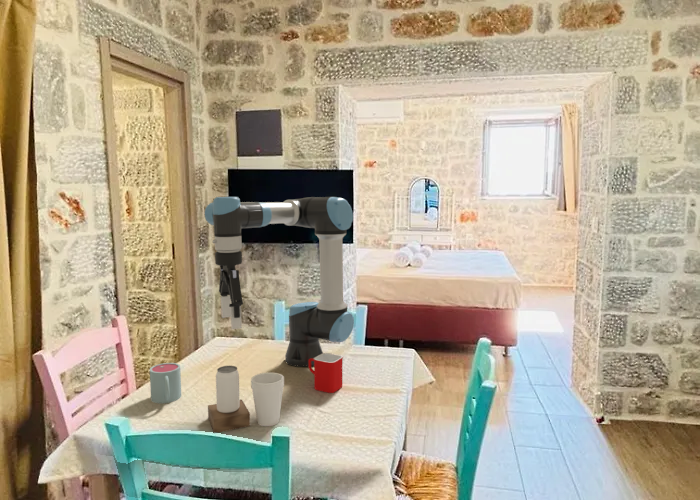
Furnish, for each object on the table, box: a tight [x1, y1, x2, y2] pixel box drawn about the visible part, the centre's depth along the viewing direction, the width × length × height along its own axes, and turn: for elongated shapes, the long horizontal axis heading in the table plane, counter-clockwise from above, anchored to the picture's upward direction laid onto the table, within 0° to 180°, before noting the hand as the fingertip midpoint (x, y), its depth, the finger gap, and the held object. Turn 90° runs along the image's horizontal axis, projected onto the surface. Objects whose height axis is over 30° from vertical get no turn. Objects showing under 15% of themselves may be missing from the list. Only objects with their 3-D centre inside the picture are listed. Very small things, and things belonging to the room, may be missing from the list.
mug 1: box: [149, 362, 182, 404], centre depth 157 cm, size 14×9×10 cm
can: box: [215, 365, 241, 413], centre depth 141 cm, size 6×6×12 cm
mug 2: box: [308, 352, 344, 394], centre depth 168 cm, size 12×8×11 cm
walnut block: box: [207, 399, 251, 433], centre depth 142 cm, size 10×10×4 cm
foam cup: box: [250, 371, 285, 427], centre depth 142 cm, size 10×9×13 cm
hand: (231, 322), depth 144 cm, fingers open, 13 cm apart
